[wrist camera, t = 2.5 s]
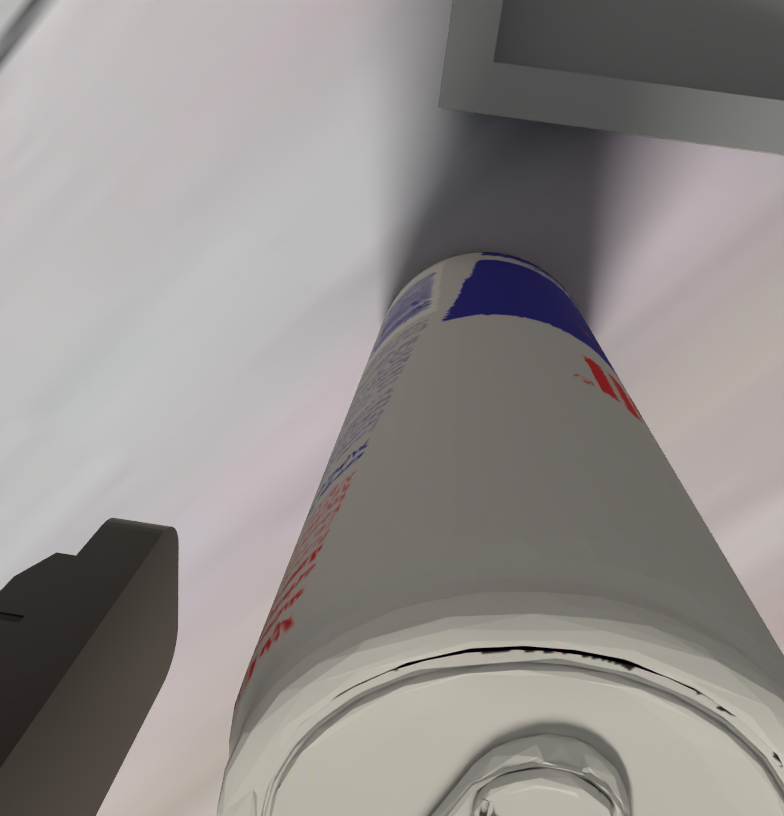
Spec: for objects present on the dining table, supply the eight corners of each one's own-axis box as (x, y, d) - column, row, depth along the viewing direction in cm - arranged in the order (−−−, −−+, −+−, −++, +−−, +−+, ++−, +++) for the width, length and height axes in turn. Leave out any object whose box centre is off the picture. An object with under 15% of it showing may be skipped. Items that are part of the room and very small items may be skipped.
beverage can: (433, 470, 21) (378, 1123, 7) (344, 304, 20) (62, 751, 6) (614, 396, 20) (956, 1031, 6) (534, 211, 18) (757, 506, 4)
